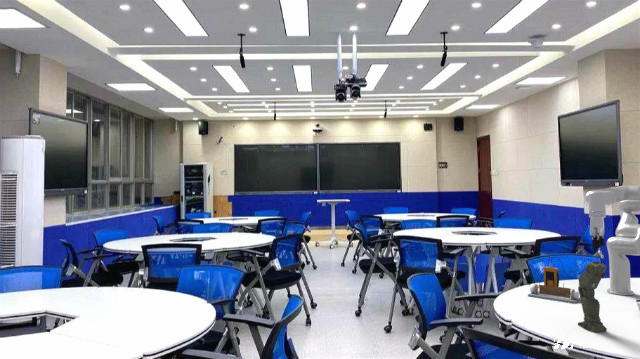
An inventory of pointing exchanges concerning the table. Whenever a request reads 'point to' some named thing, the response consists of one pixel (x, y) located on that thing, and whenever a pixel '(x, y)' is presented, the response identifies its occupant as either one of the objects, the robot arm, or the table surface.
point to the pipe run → (572, 299)
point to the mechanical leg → (591, 296)
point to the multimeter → (551, 275)
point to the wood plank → (555, 291)
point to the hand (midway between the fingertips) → (598, 246)
